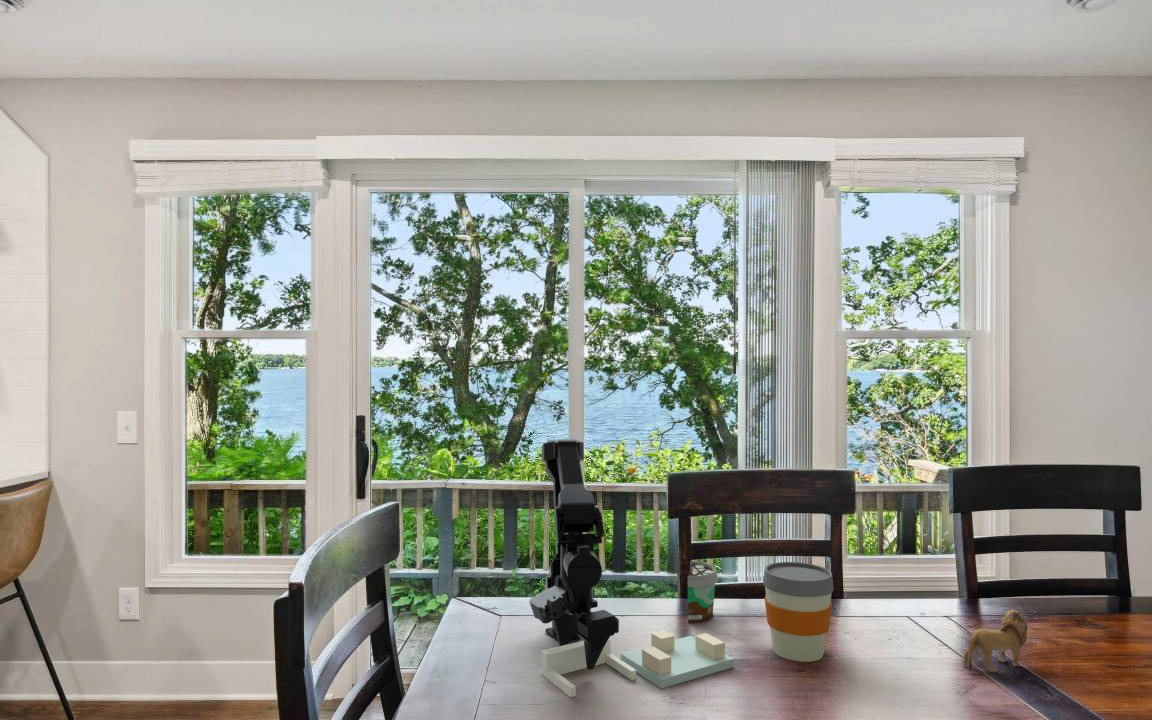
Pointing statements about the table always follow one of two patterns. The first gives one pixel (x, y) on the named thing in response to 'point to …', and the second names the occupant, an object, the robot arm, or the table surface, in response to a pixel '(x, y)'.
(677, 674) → the display stand
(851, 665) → the table surface
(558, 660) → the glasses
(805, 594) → the reusable coffee cup
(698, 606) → the food container
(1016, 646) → the lion figurine
